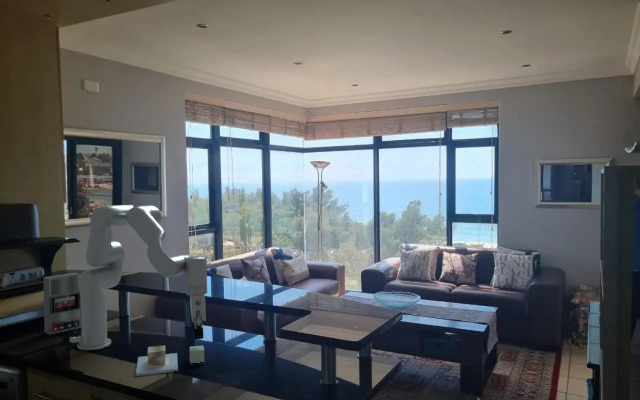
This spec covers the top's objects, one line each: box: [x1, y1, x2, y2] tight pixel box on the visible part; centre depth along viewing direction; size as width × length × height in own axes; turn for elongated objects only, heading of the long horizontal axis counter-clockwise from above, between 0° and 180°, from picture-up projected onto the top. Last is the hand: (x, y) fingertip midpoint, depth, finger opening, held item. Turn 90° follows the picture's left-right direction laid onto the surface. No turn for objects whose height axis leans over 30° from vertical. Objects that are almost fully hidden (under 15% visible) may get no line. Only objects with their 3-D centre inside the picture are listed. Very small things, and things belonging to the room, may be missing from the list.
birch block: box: [147, 345, 166, 366], centre depth 175 cm, size 6×6×5 cm
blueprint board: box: [135, 352, 179, 377], centre depth 175 cm, size 14×16×1 cm
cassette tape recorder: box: [43, 272, 81, 336], centre depth 214 cm, size 14×6×25 cm, turn 141°
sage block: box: [189, 345, 205, 365], centre depth 179 cm, size 5×5×5 cm
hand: (197, 334), depth 179 cm, fingers open, 9 cm apart
